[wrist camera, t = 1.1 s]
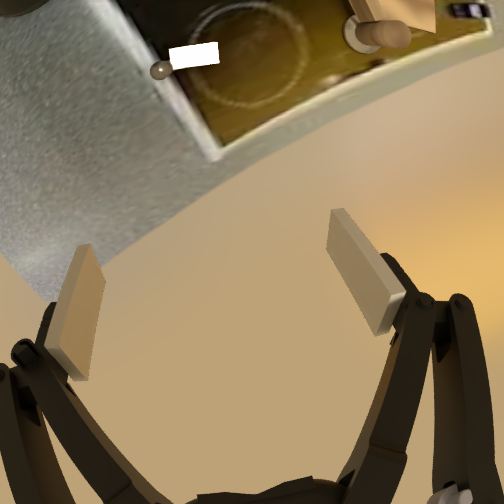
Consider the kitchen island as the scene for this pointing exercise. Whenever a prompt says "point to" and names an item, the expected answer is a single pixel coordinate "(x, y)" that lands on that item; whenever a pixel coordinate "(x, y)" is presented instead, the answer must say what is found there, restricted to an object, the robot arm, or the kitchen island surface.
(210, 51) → the post
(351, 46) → the hinge base
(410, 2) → the coaster
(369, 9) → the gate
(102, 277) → the robot arm
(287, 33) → the kitchen island surface
